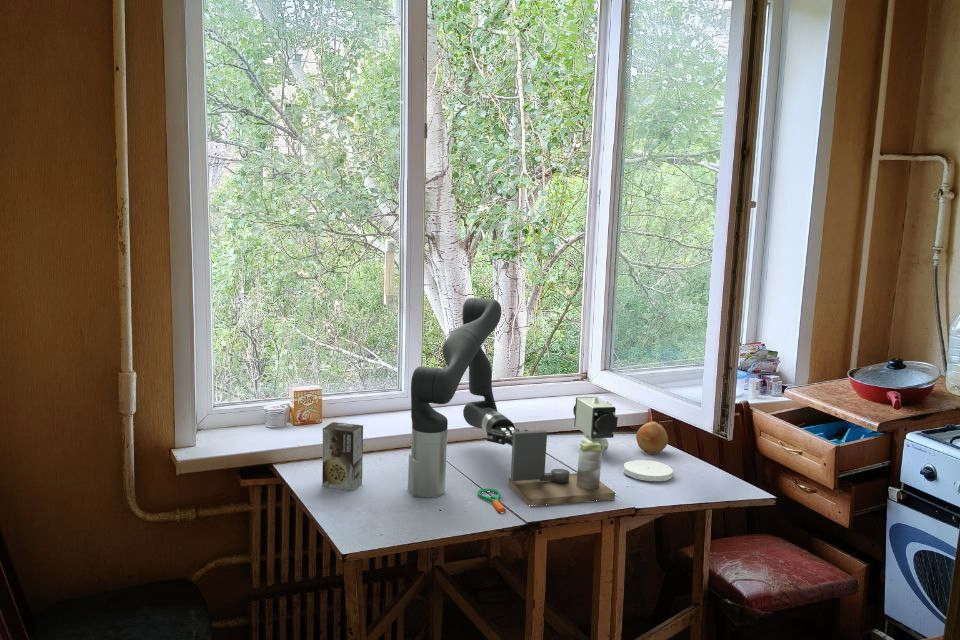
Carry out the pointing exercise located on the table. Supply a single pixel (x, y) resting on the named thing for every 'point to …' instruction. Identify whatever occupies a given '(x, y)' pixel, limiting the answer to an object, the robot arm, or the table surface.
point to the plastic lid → (648, 470)
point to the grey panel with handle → (533, 458)
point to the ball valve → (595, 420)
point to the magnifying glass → (492, 498)
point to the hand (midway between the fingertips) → (518, 444)
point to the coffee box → (342, 456)
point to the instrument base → (569, 483)
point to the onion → (652, 438)
